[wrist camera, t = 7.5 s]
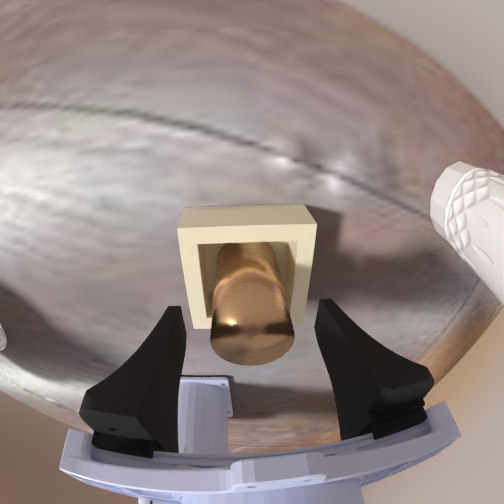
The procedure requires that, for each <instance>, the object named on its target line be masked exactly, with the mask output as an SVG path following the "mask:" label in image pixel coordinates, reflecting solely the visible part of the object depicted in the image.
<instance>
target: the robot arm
mask: <svg viewBox="0 0 504 504" xmlns="http://www.w3.org/2000/svg"><path fill="white" fill-rule="evenodd" d="M314 328H315V332H316V337H317V342H318V345H319V348H320V351H321V354H322V356H323V359H324V362H325V365H326V367H327V370H328V373H329V376H330V379H331V383H332V387H333V392H334V396H335V402H336V407H337V413H338V420H339V427H340V436H341V441H338V442H334V443H329V444H324V445H319V446H313V447H307V448H301V449H294V450H286V451H277V452H267V453H254V454H230V455H229V448H228V417H232V416H233V409H232V402H231V394H230V387H229V379H228V378H227V377H181V374H182V368H183V362H184V357H185V351H186V334H187V333H186V329H185V325H184V320H183V316H182V311H181V306H169V307H168V308H167V309H166V311H165V312H164V314H163V316H162V317H161V319H160V320H159V322H158V323H157V325H156V326H155V327H154V329H153V330H152V332H151V333H150V335H149V336H148V337H147V338H146V340H145V341H144V342H143V343H142V345H141V346H140V347H139V348H138V349H137V351H136V352H135V353H134V354H133V355H132V356H131V357H130V358H129V359H128V360H127V361H126V362H125V363H124V364H123V365H122V366H121V367H120V368H118V369H117V370H116V371H115V372H114V373H112V374H111V375H110V376H108V377H107V378H106V379H104V380H103V381H101V382H100V383H98V384H97V385H95V386H93V387H92V388H90V389H88V390H87V391H86V393H85V395H84V398H83V401H82V404H81V408H80V411H79V414H80V417H81V418H82V419H83V421H85V422H86V423H87V424H88V425H89V426H90V427H91V428H92V429H93V430H94V434H93V436H92V435H90V434H88V433H84V432H81V431H77V430H74V429H69V430H68V433H67V438H66V441H65V445H64V449H63V453H62V458H61V463H60V467H59V468H60V470H62V471H64V472H65V473H67V474H69V475H71V476H72V477H74V478H76V479H78V480H80V481H82V482H84V483H86V484H90V485H93V486H96V487H99V488H103V489H106V490H110V491H113V492H117V493H121V494H125V495H129V496H133V497H137V498H138V504H365V503H364V499H363V495H362V491H361V487H362V486H365V485H368V484H370V483H373V482H376V481H379V480H381V479H384V478H386V477H389V476H391V475H394V474H396V473H398V472H401V471H403V470H405V469H407V468H410V467H412V466H414V465H416V464H418V463H420V462H422V461H424V460H427V459H429V458H430V457H433V456H435V455H436V454H438V453H439V452H441V451H442V450H444V449H445V448H446V447H448V446H449V445H450V444H452V443H453V442H454V441H456V440H457V439H458V438H460V437H461V434H460V432H459V429H458V427H457V425H456V423H455V421H454V419H453V417H452V415H451V412H450V410H449V408H448V406H447V404H446V402H441V403H439V404H437V405H434V406H432V407H430V408H428V409H427V410H424V408H423V406H424V405H425V402H424V400H423V398H424V397H425V396H426V395H427V393H428V392H429V391H430V390H431V388H432V387H433V384H434V379H433V377H432V375H431V373H430V371H429V370H428V368H427V367H425V366H423V365H420V364H417V363H415V362H412V361H410V360H408V359H406V358H404V357H402V356H400V355H398V354H396V353H394V352H393V351H391V350H389V349H388V348H386V347H384V346H383V345H381V344H380V343H379V342H377V341H376V340H375V339H373V338H372V337H371V336H369V335H368V334H367V333H366V332H365V331H363V330H362V329H361V328H360V327H359V326H358V325H357V324H356V323H354V322H353V321H352V320H351V319H350V318H349V317H348V316H347V315H346V314H345V313H344V312H343V311H342V310H341V309H340V308H339V306H338V305H337V304H336V303H335V302H334V301H333V300H332V299H320V301H319V307H318V312H317V317H316V322H315V326H314Z"/></svg>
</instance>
